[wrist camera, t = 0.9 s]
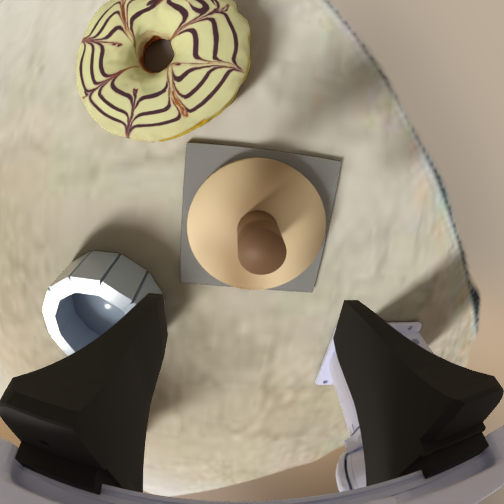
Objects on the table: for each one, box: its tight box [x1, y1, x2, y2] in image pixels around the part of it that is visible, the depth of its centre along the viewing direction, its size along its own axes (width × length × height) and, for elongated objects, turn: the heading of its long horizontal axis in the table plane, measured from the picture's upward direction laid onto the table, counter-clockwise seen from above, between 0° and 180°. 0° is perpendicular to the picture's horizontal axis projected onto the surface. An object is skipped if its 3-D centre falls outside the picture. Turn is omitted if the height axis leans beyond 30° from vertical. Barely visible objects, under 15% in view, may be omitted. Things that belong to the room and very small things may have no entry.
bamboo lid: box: [187, 157, 326, 290], centre depth 18 cm, size 9×9×4 cm
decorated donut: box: [76, 0, 251, 142], centre depth 14 cm, size 10×11×4 cm
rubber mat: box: [180, 142, 341, 292], centre depth 20 cm, size 10×10×1 cm
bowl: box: [42, 251, 166, 356], centre depth 21 cm, size 9×9×4 cm
